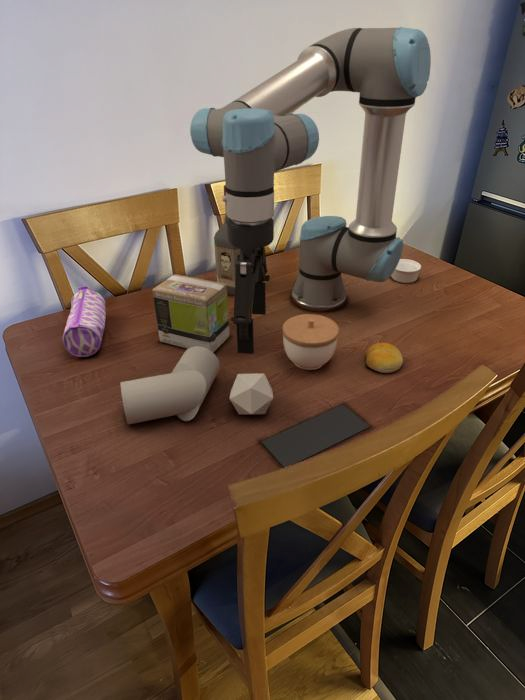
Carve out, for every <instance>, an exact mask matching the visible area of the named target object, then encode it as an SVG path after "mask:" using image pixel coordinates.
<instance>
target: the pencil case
mask: <svg viewBox="0 0 525 700" xmlns="http://www.w3.org/2000/svg"><path fill="white" fill-rule="evenodd" d="M77 289H78V291H76V293H75V294H74V295H73V296H72V297H71V301H69V302H68V304H69V306H70V311H69V314H68V316H67V320H66V323H65V327H64V330H63V335H62V343H63V346H64V349H65V350H66V351H67V353H69V354H70V355H71V356H73V357H76V358H89V357H91V356H94V354H96V353H98V351H99V350H100V348H101V345H102V342H103V336H104V334H105V329H106V320H107V319H106V318H107V308H106V306H107V305H106V300H105V298H104V297H103V296H102V295H101V293H99V292H97V291H94V290H91V289H89V287H88V286H87V285H83V286H78V287H77Z"/></svg>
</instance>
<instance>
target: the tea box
mask: <svg viewBox="0 0 525 700" xmlns="http://www.w3.org/2000/svg"><path fill="white" fill-rule="evenodd" d="M151 291H152V298H153V305H154V310H155V311H154V312H155V318H156V325H157V326H156V327H157V332H158V338H159V342H161V343H165V344H168V345H172V346H176V347H179V348H184V349H186V350H187V349H189V348H191V347H195V346H199V347H204V348H206V349H208V350H210V351H211V352H213V353H214V352H216V351H217V350H218V348H220V347H221V345H222V344H224V342H225V341H226V340H227V339H228V338H229V337H230V315H229V302H228V300H229V299H228V294H227V285H226V284H224V283H219V282H217V281H213V280H207V279H203V278H197V277H192V276H187V275H180V274H177V273H173V275H171V276H170V277H168V278H167V279H166V280H164V281H162V282H161V283H160V284H158V285H156V286H154V287H153V288H152V289H151Z"/></svg>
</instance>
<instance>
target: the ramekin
mask: <svg viewBox="0 0 525 700" xmlns="http://www.w3.org/2000/svg"><path fill="white" fill-rule="evenodd" d="M421 269H422V265H421V264H420V262H418V261H415V260H413V259H408V258H407V259H406V258H400V260H399V262H398V265H397V267H396V269H395V270H394V272H393V274H392V275H391V276H390V277H391V279H392V280H394V281H395V282H398V283H401V284H410V283H414V282H416V281H418V278H419V274H420V271H421Z"/></svg>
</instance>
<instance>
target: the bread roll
mask: <svg viewBox="0 0 525 700" xmlns="http://www.w3.org/2000/svg"><path fill="white" fill-rule="evenodd" d="M365 356H366V357H365V358H366V360H365V364H366V366H367V367H368V368H370V369H371V370H373V371H376V372H379V373H382V374H390V373H394V372H396V371H398V370H400V369H401V367H402V366H403V364H404V363H403V362H404V359H403V355H402V352H401V351H400V350H399V348H398V347H397V346H395V345H393V344H391V343H388V342H377V343H375V344H373V345H370V346H369V347H368V348H367V350H366V353H365Z"/></svg>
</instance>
